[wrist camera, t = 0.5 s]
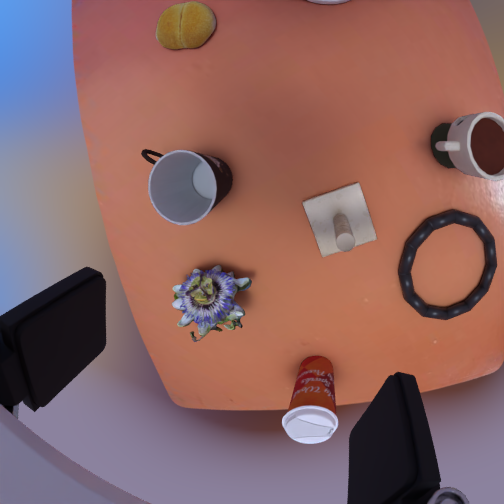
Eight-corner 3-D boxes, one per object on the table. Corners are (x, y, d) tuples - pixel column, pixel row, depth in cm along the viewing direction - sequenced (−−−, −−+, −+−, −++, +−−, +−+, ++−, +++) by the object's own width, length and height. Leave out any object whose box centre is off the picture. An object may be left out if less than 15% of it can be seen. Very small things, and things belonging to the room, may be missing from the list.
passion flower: (229, 258, 52) (252, 260, 41) (242, 319, 53) (268, 337, 42) (163, 274, 49) (167, 281, 37) (179, 337, 50) (189, 361, 38)
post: (302, 201, 41) (295, 218, 31) (358, 181, 39) (370, 192, 28) (322, 254, 43) (321, 288, 33) (376, 236, 40) (391, 265, 30)
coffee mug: (251, 191, 42) (230, 203, 33) (201, 219, 45) (170, 237, 36) (211, 120, 40) (180, 113, 31) (164, 151, 43) (126, 154, 34)
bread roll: (214, 48, 37) (204, 40, 33) (159, 52, 38) (146, 46, 35) (221, 2, 34) (212, -9, 30) (167, 8, 36) (155, -1, 32)
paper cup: (342, 352, 47) (343, 415, 34) (334, 386, 50) (332, 447, 37) (295, 348, 49) (282, 409, 36) (291, 382, 51) (278, 442, 38)
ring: (386, 231, 40) (389, 234, 38) (484, 196, 35) (489, 198, 33) (409, 328, 43) (411, 334, 42) (496, 295, 38) (500, 299, 36)
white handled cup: (476, 121, 32) (526, 115, 20) (481, 170, 34) (532, 181, 22) (410, 120, 34) (445, 109, 22) (416, 172, 36) (453, 183, 24)
